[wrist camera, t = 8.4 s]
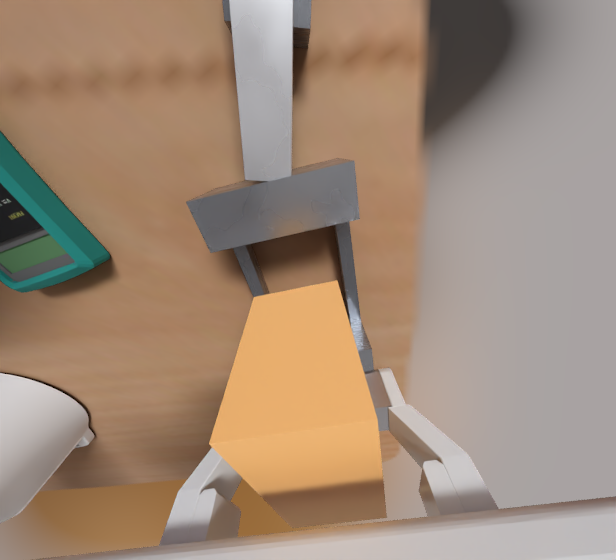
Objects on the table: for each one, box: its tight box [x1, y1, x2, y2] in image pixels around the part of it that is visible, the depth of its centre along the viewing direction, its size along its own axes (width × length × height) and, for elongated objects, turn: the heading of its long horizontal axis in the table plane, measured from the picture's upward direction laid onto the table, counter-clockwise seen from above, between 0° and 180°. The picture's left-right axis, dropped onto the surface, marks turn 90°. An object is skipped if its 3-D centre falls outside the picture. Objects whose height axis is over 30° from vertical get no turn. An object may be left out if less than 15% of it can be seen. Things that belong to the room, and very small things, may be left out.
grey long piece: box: [186, 0, 374, 372], centre depth 18 cm, size 37×9×5 cm, turn 12°
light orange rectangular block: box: [209, 281, 387, 528], centre depth 10 cm, size 8×4×6 cm, turn 12°
